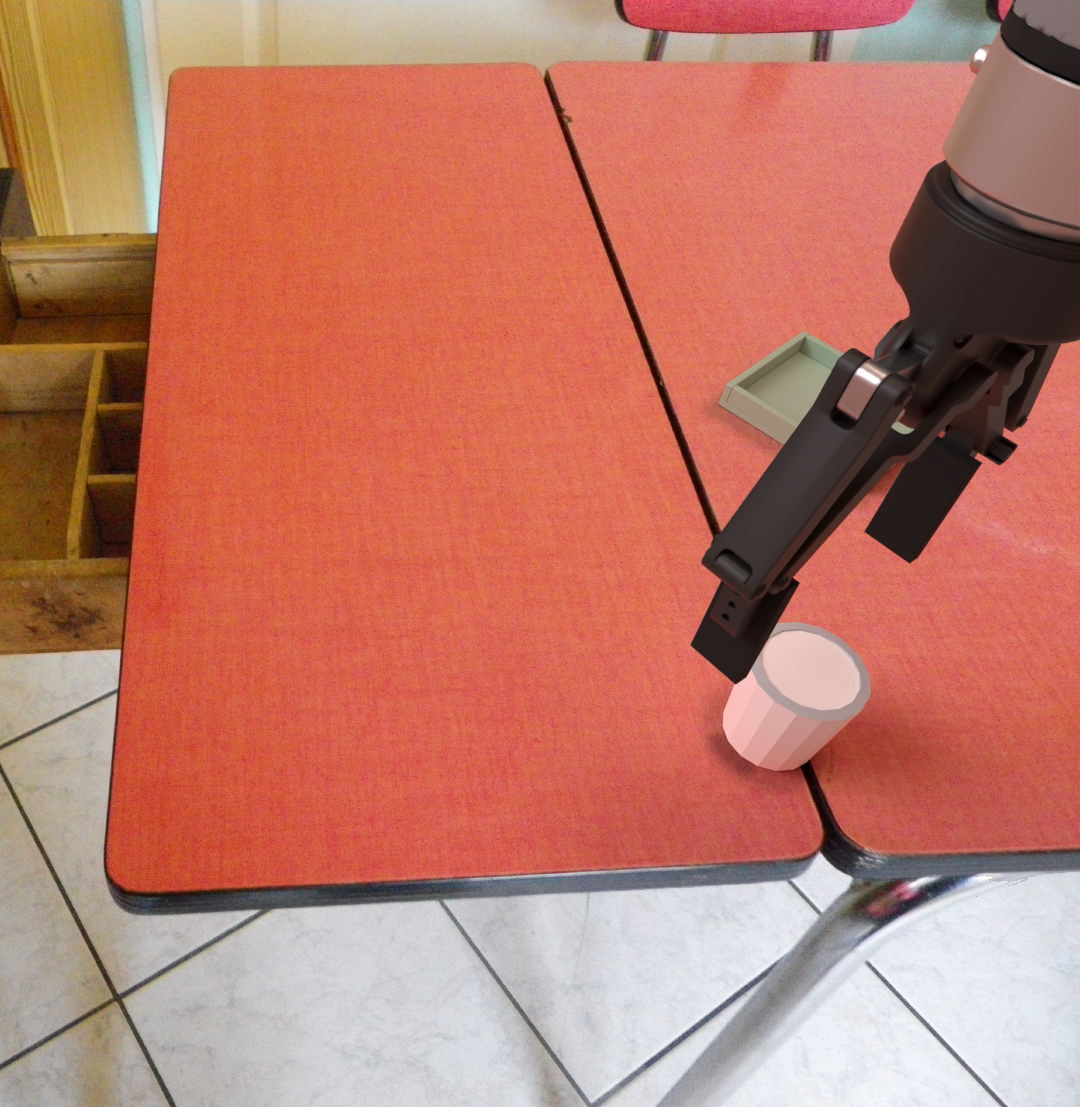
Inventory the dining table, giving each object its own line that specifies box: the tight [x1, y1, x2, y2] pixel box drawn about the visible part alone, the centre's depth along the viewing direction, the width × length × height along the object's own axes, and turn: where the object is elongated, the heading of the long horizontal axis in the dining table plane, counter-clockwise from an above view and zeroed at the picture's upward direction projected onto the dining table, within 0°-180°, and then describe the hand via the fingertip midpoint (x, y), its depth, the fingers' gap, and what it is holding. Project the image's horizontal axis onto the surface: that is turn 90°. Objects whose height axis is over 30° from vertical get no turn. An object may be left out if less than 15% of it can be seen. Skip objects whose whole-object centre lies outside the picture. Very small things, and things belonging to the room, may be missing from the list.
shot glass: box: [722, 621, 872, 772], centre depth 61 cm, size 7×7×7 cm
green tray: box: [718, 330, 914, 472], centre depth 82 cm, size 13×11×2 cm
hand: (808, 600), depth 50 cm, fingers open, 13 cm apart
